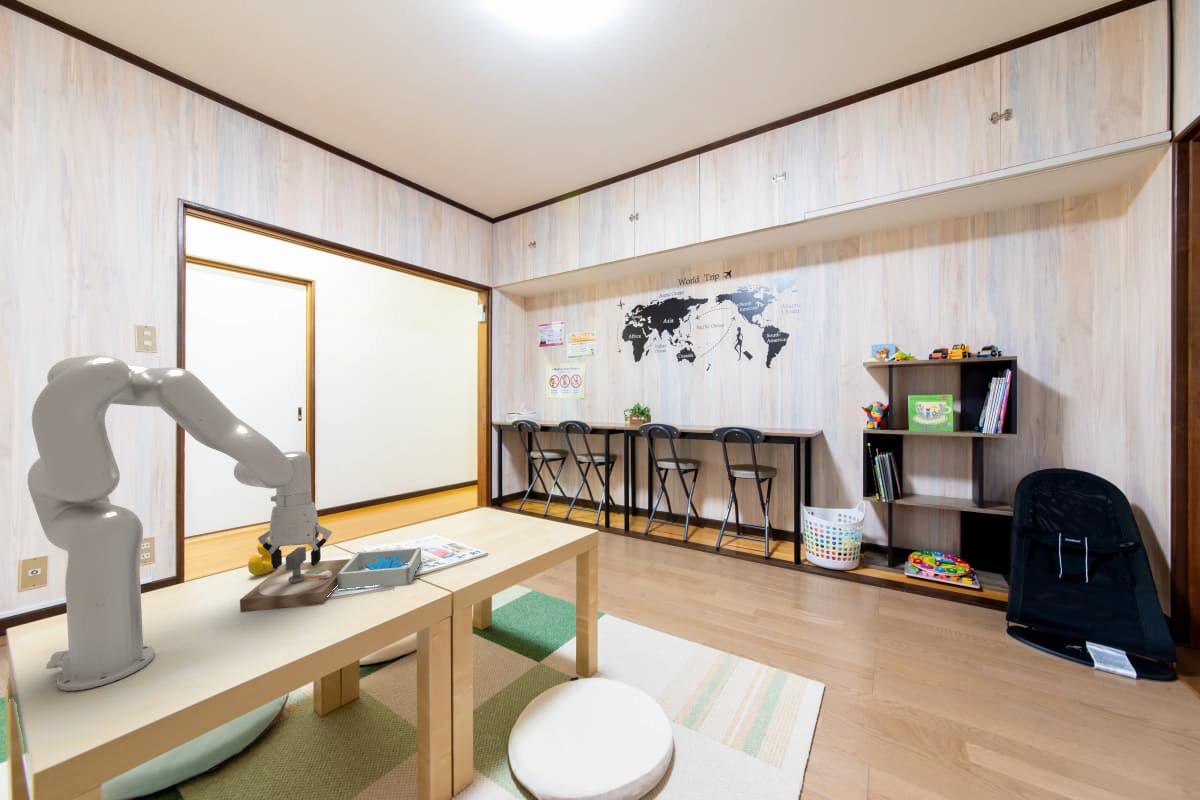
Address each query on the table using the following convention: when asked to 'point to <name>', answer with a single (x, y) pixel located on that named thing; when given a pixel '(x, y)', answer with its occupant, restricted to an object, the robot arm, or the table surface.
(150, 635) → the table surface
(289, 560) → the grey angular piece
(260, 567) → the duckling
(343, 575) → the toy tray
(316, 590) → the board
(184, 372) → the robot arm
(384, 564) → the toy airplane
